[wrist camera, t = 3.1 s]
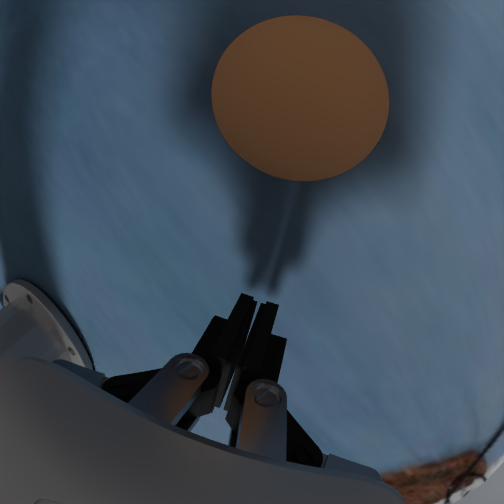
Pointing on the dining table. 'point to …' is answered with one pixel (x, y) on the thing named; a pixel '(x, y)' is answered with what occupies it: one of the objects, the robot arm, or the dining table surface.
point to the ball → (300, 98)
